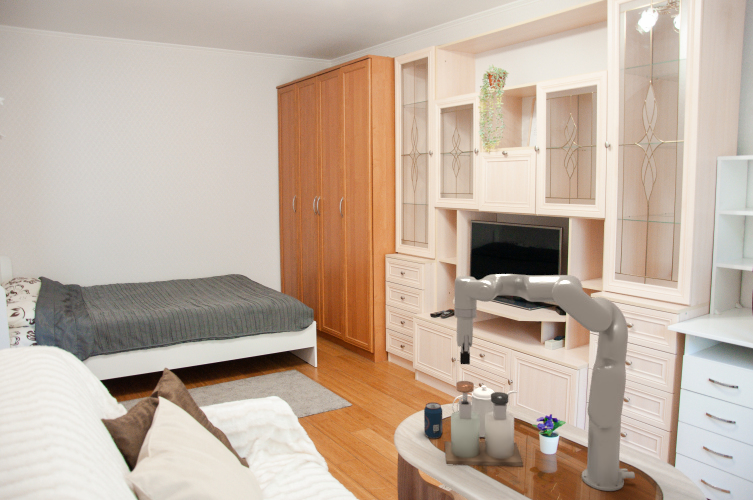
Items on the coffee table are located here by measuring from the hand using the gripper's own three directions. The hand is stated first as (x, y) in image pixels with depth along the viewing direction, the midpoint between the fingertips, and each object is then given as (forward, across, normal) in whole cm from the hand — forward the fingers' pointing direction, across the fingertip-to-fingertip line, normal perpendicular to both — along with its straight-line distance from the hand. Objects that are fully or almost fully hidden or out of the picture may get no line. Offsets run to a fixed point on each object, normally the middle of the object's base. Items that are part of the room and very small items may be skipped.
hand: (465, 363), depth 195 cm
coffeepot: (+34, -18, +9) cm, 40 cm away
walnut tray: (+34, 0, +6) cm, 34 cm away
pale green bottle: (+33, 0, 0) cm, 33 cm away
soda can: (+34, -15, -11) cm, 39 cm away
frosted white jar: (+32, 0, +12) cm, 35 cm away
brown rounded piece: (+15, 0, 0) cm, 15 cm away
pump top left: (+19, 0, +12) cm, 23 cm away
